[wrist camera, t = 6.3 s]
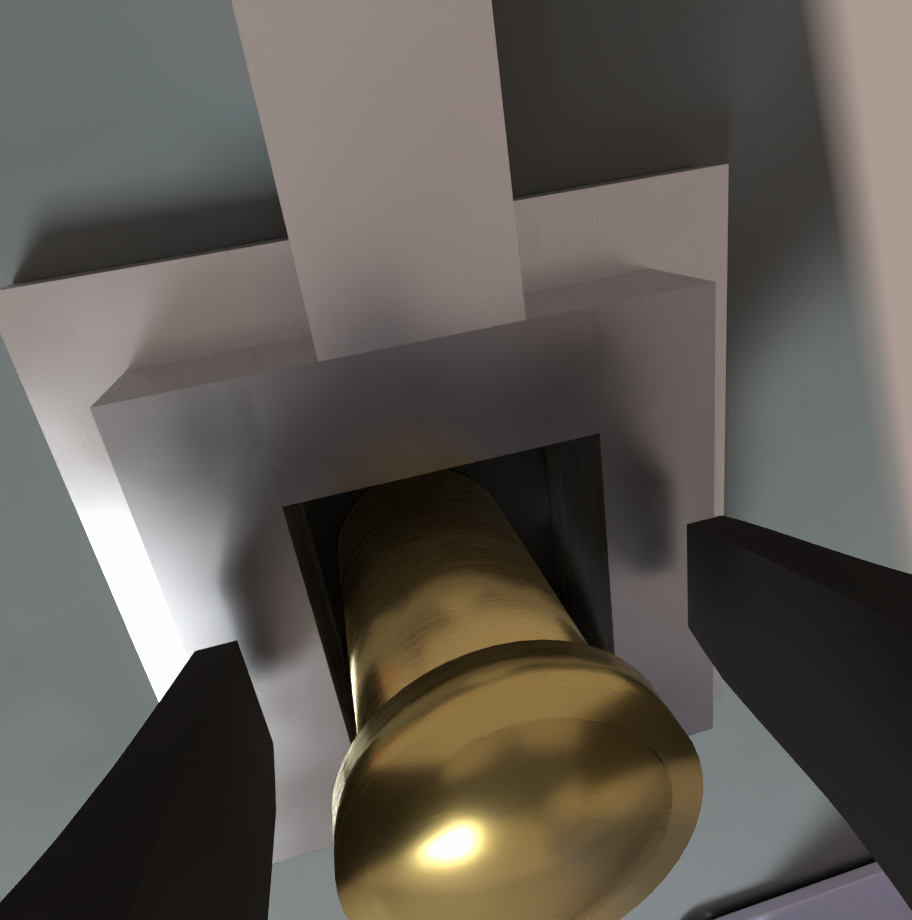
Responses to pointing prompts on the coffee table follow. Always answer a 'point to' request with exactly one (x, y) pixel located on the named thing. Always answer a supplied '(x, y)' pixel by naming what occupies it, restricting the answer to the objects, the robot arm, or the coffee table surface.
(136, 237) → the coffee table surface
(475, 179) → the white stepped square fixture
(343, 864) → the pin
